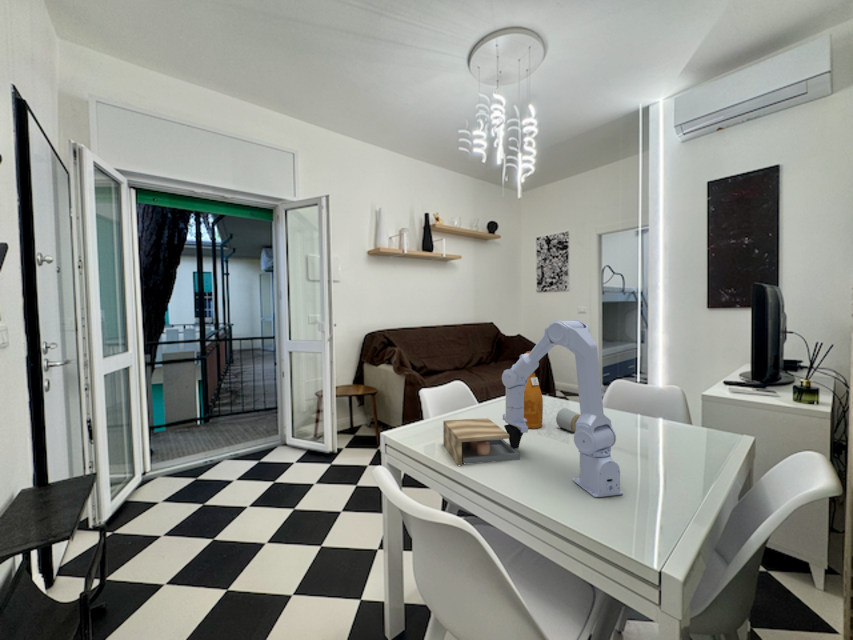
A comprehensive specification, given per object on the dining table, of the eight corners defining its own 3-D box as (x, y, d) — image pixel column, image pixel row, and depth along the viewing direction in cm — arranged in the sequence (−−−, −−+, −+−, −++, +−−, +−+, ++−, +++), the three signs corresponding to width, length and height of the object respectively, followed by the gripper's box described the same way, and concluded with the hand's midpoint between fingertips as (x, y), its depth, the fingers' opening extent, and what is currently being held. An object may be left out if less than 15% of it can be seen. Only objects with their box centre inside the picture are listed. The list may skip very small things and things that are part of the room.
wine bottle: (516, 428, 140) (516, 352, 139) (517, 421, 149) (517, 349, 149) (542, 430, 137) (543, 352, 136) (542, 423, 146) (542, 350, 146)
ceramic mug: (571, 434, 132) (572, 414, 132) (555, 428, 140) (555, 408, 139) (592, 431, 136) (592, 411, 136) (575, 425, 144) (576, 406, 144)
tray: (519, 461, 109) (519, 454, 109) (463, 466, 106) (463, 458, 106) (502, 445, 123) (502, 438, 123) (451, 448, 120) (451, 441, 120)
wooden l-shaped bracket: (509, 461, 108) (509, 434, 108) (458, 466, 105) (458, 438, 105) (487, 441, 125) (487, 417, 125) (443, 444, 122) (443, 420, 122)
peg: (483, 449, 117) (483, 436, 117) (471, 450, 116) (472, 437, 116) (478, 445, 120) (478, 432, 120) (467, 446, 119) (467, 433, 119)
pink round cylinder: (492, 458, 109) (492, 444, 109) (481, 460, 108) (481, 446, 108) (485, 454, 113) (485, 440, 113) (474, 456, 111) (474, 442, 111)
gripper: (537, 411, 109) (537, 455, 109) (516, 400, 123) (516, 439, 124) (515, 412, 108) (515, 457, 108) (497, 401, 122) (497, 440, 122)
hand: (514, 447), depth 116 cm, fingers closed
